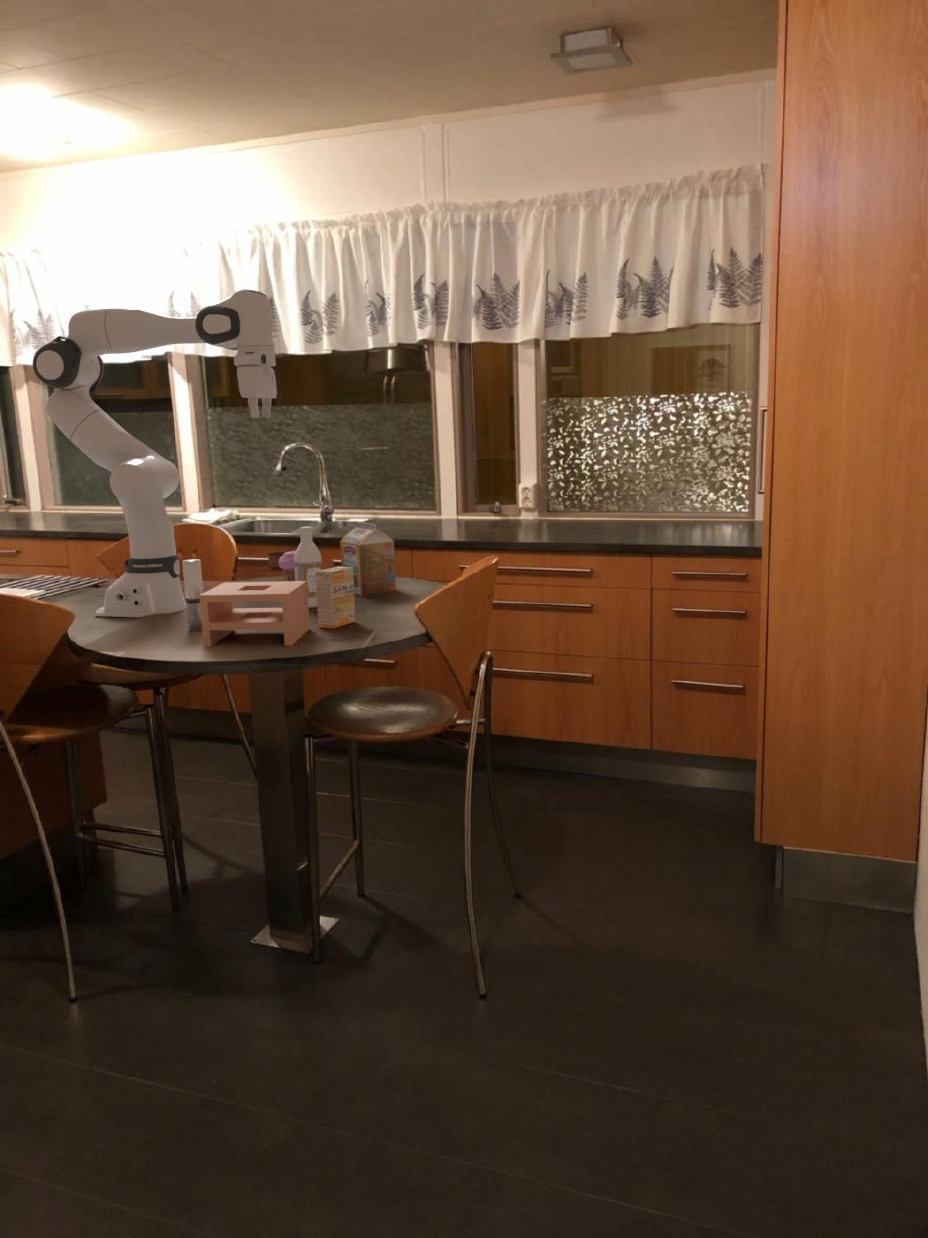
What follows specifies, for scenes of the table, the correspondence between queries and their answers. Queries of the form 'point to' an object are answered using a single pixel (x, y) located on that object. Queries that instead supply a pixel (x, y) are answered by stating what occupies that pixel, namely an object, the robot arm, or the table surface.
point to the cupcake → (288, 565)
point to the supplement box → (335, 597)
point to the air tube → (193, 593)
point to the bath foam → (307, 564)
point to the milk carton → (369, 559)
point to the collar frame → (255, 609)
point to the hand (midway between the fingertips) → (261, 417)
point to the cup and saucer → (274, 562)
